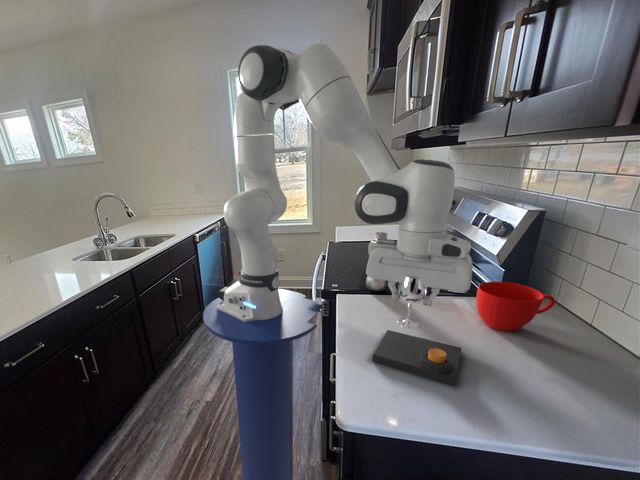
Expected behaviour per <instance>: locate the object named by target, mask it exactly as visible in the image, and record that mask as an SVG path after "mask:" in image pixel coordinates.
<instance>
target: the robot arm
mask: <svg viewBox="0 0 640 480" xmlns="http://www.w3.org/2000/svg"><path fill="white" fill-rule="evenodd" d="M237 83H238V85H239V88H240V90H241V93H240V94H239V95H237V97H236V99H235V102H234V111H233V143H234V157H235V158H234V159H235V167H236V170H237V171H238V173H240V175H241V176H242V179H243V181H244V185H245V189H246V190H245V191H241V192H238V193H236V194H235V195H233V196H232V197H230V198H228V199H227V201H226V202H225V204H224V206H223V212H222V213H223V219H224V222H225V224H226V225H227V227H229V229H230V230H232V231H233V232H234V234H235V236H236V239H237V241H238V244H239V250H240V256H241V257H240V258H241V269H240V270H239V271H238V272H235V277H238V276H239V277H238V280H237V281H235V282H234V283H232V284H231V285H230V286H224V287H223V288H221V289H219V290H218V295H219V297H220V299H222V301H221V302H220V303H219V304H218V309H219V310H221V311H223V312H225V313H227V314H229V315H231V316H233V317H235V318H237V319H240V320H242V321H244V322H250V321H254V320H267V319H272V318H275V317H277V316H279V315H280V314H281V313H282V311H283V308H282V305H281V302H280V297H279V291H278V289H279V283H280V279H279V278H280V275H279V274H280V273H279V268H278V247H277V244H276V243H275V242H274V241H273V239H272V237H271V233H270V230H269V225H270V224H272V223H275V222H276V221H278V220H279V219H280V218H281V217H282V216H283V215H284V214H285V212H286V210H287V208H288V200H287V197H286V194H285V193H284V192H283V191H282V188H281V184H280V180H279V177H278V172H277V166H276V147H275V143H276V142H275V141H276V140H275V116H276V113H277V111H278V110H282V111H286V110H287V109H289V108H290V107H292V106H294V105H296V104H299V103H300V104H301V106H302V108H303V110H304V112H305V114H306V116H307V118H308V120H309V122H310V124H311V125H312V126H313V128H314V130H316V132H317V133H318V134H319V135H320V136H321V137H322V138H324V139H326V140H328V141H331V142H334V143H335V144H338V145H341V146H343V147H345V148H347V149H348V150H349V151H351V152H352V153H353V154H354V155H355V157H356V158H357V159H358V161H359V163H360V164H361V166H362V167H363V169H364V171H365V173H366V174H367V176H368V177H369V179H370V181H368V182H366V183H364V184H363V185H362V186H361V187H360V188H359V189H358V191H357V192H356V194H355V197H354V201H353V203H354V210H355V213H356V215H357V217H358V218H359V219H360V220H361V221H362V222H364V223H366V224H369V225H383V224H384V225H385V224H391V223H397V224H398V230H397V239H391V238H390V239H389V238H387V239H381V238H377V239H376V240H375V239H373V240H370V242H369V243H368V246H367V254H368V259H367V263H366V270H365V275H367V276H368V277H369V278H374V279H381V280H387V286H388V289H389V291H390V292H391V300H396V301H399V300H400V299H401V298H400V296H399V295H398V288H397V287H396V284H397V283H399V282H400V283H401V282H402V281H403V280H404V278H405V277H408V278H414V279H420V281H421V284H422V286H425V287H427V288H431V294H430V295H427V294H426V296H425V297H424V299H423V303H422V305H423V306H426V307H427V306H428V307H431V306H432V304H433V300H434V298H436V297H437V296H438V295H439V294H440V291H441V290H444V291H451V292H456V293H457V292H458V293H466V292H468V291H469V290H470V289H471V286H472V280H473V258H472V257H471V255H470V253H471V249H472V245H471V242H470V241H469V240H467V239H463V238H462V237H458V236H455V235H452V234H451V233H448V225H449V224H448V216H449V213H450V211H451V209H452V206H453V199H454V194H455V193H454V192H455V185H456V184H455V182H456V181H455V180H456V179H455V178H456V177H455V175H456V174H455V170H454V168H453V166H452V165H451V164H450V163H447V162H445V161H442V160H441V161H440V160H432V159H423V158H422V159H414V160H412V161H410V162H409V163H408V164H407V165H405V166H404V167H402V168H400V166H399V165H398V163H397V161H395V159H394V157H393V154H391V152H390V150H389V149H388V147H387V145H386V143H385V142H384V140H383V138H382V137H381V134H380V133H379V132H378V130H377V129H376V127H375V125H374V123H373V121H372V119H371V116H370V115H369V113H368V111H367V109H366V107H365V104H364V102H363V100H362V97H361V95H360V93H359V91H358V89H357V87H356V85H355V83H354V81H353V79H352V77H351V76H350V73H349V72H348V70H347V69H346V67H345V65H344V64H343V62H342V61H341V59H340V58H339V57H338V56H337V54H336V53H335V52H334V50H332V49H331V47H330V46H329V45H327V44H326V43H322V42H316V43H313V44H310V45H309V46H307V47H306V48H304V49H303V50H302V51H301V52H300V53H299V54H297V53H295V52H293V51H290V50H289V49H286V48H277V47H273V46H270V45H267V44H260V45H259V44H257V45H253V46H251V47H249V48H248V49H246V51H245V52H244V53H243V54H242V56H241V58H240V60H239V63H238V67H237ZM373 242H376V243H373ZM369 255H370V256H369Z"/></svg>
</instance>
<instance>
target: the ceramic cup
mask: <svg viewBox="0 0 640 480" xmlns="http://www.w3.org/2000/svg"><path fill="white" fill-rule="evenodd" d="M475 298H476V299H475V305H476V310H477V313H478V315H479V317H480V319H481V320H482V321H483V322H484V324H485V326H487V327H489V328H491V329H493V330H496V331H502V332H515V331H516V330H518V329H522V328H523V327H524V326H526V325H528V324H529V323H530V322H532V320H534V318H535V317H536V315H539V314H542V313H545V312H547V311H548V310H550V309H552V308H553V307H554V305H555V303H556V299H555V297H554V296H552V295H550V294H543V293H542V292H541V291H539V290H538V289H535V288H533V287H530V286H527V285H523V284H520V283H513V282H508V281H507V282H506V281H486V282H481V283H480V284H479V285H478V287H477V291H476V297H475ZM544 299H549V301H548V303H547V304H545V305H544V306H543V307H542V304H543V301H544Z"/></svg>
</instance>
